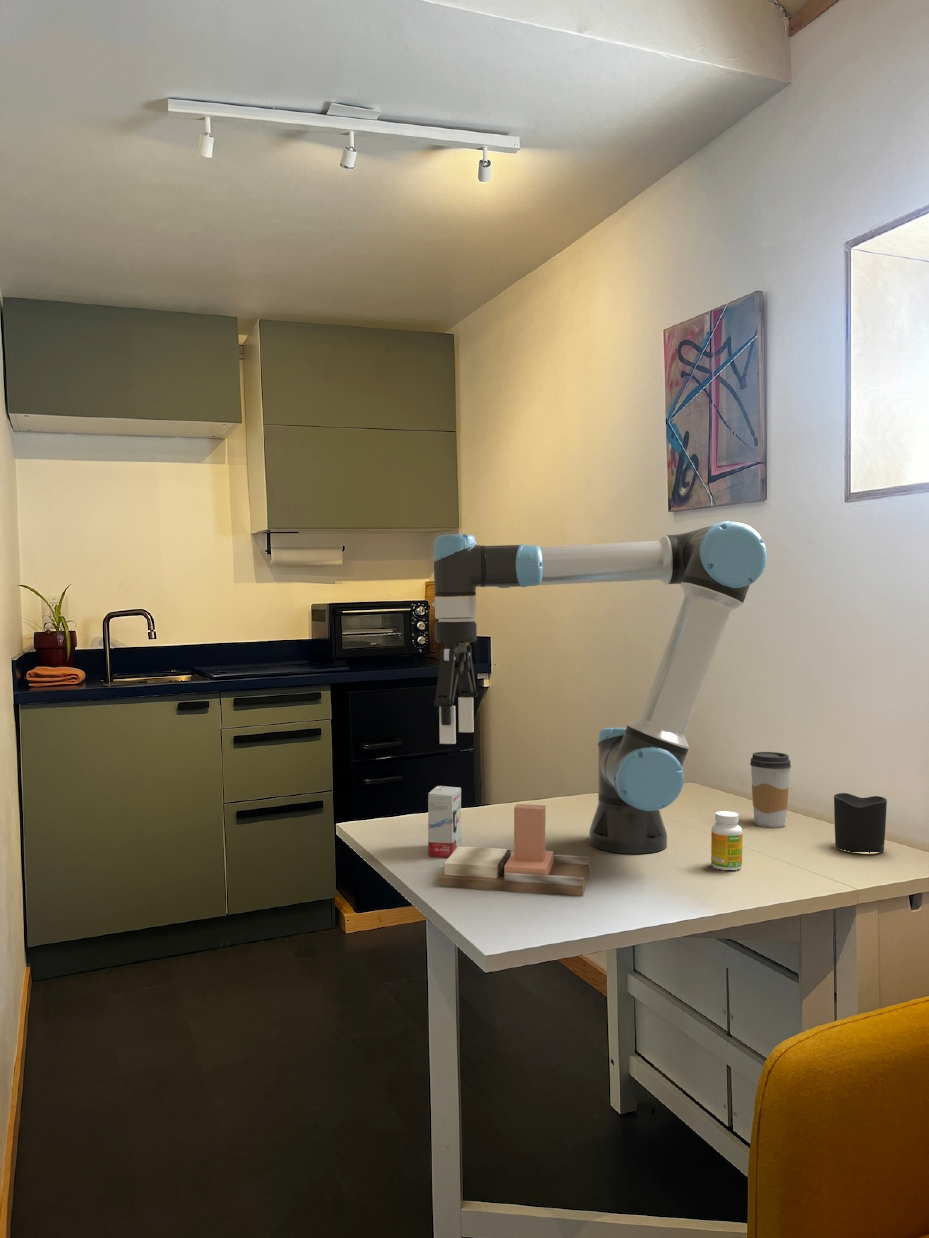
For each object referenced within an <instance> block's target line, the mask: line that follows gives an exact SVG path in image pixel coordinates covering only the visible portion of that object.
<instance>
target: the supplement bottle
mask: <svg viewBox="0 0 929 1238" xmlns="http://www.w3.org/2000/svg"><path fill="white" fill-rule="evenodd" d="M714 819H715V822H716V823H714V824H713V825H712V826H711V830H710V831H711V834H710V835H711V836H710V837H711V842H710V845H711V846H710V847H711V848H710V849H711V851H710V855H711V856H710V858H711V859H710V865H711V866H713V867H712V868H714V869H716V870H719V869H723V870H722V871H725V870H736V869H739V870H741V869H742V868H743V867H742V866H743V829H742V826H740V825H739V824H738V823H739V813H737V812H733V811H726V810H724V811H723V810H721V811H716V812H715V817H714ZM736 871H737V870H736Z"/></svg>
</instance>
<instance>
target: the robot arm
mask: <svg viewBox="0 0 929 1238" xmlns="http://www.w3.org/2000/svg"><path fill="white" fill-rule="evenodd" d="M433 547H434V548H433V549H434V550H433V553H434V554H433V578H434V579H433V580H434V602H432V603H431V607H432V608H434V618H435V619H436V620H438V621H436V622H435V624H434V639H435V642H436V643H440V644H445V648H441V649H440V650H439V666H438V673H437V684H436V692H435V699H434V700H433V706H434V707H438V708H439V709H438V712H439V713H438V715H439V717H438V718H439V719H438V720H439V723H438V724H439V745H441V744H443V745H452V744H453V745H455V744H456V743H457V739H456V738H457V736H456V735H457V734H456V733H457V730H456V723H457V722H456V721H457V720H456V705H454V704H455V703H454V702H455V697H456V692H457V689H458V692H459V696H460V697H458V698H457V699H458V702H457V703H458V733H474V731H475V728H474V727H475V725H474V724H475V723H474V721H475V720H474V697H475V698H477V697H478V695H479V694H478V693H479V691H477V687H476V686H477V685H476V680H475V672H474V665H473V658H472V657H473V656H472V655H473V654H472V648H473V647H472V645H471V644H467V643H474V642H476V641H477V640H478V639H477V638H478V634H477V633H478V632H477V629H478V628H477V623H476V621H474V619H476V618H477V617H478V615H477V613H478V612H477V611H478V610H477V592H476V590H477V588H478V587H479V588H486V587H491V588H492V587H495V588H499V589H509V588H516V587H521V588H527V587H537V586H552V585H553V586H554V585H555V586H557V585H573V584H596V583H611V582H612V583H613V582H635V581H636V582H637V581H638V582H640V581H650V580H651V581H655V580H656V581H657V580H658V581H661V582H662V583H663V584H664V585H680V587H681V589H682V591H683V593H684V597H683V600H682V603H681V606H680V608H679V610H678V612H677V615H676V619H675V620H674V624H673V627H672V629H671V631H670V635H669V638H668V639H667V643H666V645H665V649H664V650H663V653H662V656H661V658H660V662H659V663H658V667H657V670H656V673H655V675H654V678H653V681H652V683H651V686H650V687H649V688H650V689H649V690H648V693H647V696H646V700H645V702H644V704H643V707H642V710H641V712H640V715H639V717H638V718H636V719H635V720H632V721H631V722H629V723H628V724H627V725H626V727H604V728H602V729H601V730H600V731H599V733H598V734H599V735H598V741H597V746H598V796H597V797H598V801H597V806H596V810H595V813H594V816H593V819H592V822H591V824H590V828H589V832H588V842H589V844H590V845H591V846H593V847H594V848H596V849H599V850H603V851H608V852H613V853H621V854H650V853H655V852H659V851H663V850H665V849H666V848H667V847H668V835H667V830H666V827H665V823H664V821H663V817H662V815H661V811H660V810H662V809H664V808H665V809H666V808H667V807H669V806H670V805H672V804H673V803H674V802H675V801H676V800H677V798H678V797H679V795H680V794H681V792H682V789H683V787H684V782H685V781H684V780H685V777H684V770H683V769H684V768H683V765H684V762H685V759H686V758H687V757H686V756H687V754H688V752H689V748H690V745H689V743H688V741H687V738H686V735H685V734H686V732H687V730H688V726H689V724H690V721H691V718H692V716H693V714H694V711H695V708H696V706H697V703H698V701H699V698H700V695H701V692H702V689H703V686H704V684H705V682H706V678H707V677H708V673H709V671H710V668H711V665H712V663H713V660H714V657H715V654H716V652H717V649H718V647H719V643H720V642H721V638H722V636H723V634H724V631H725V628H726V625H727V623H728V620H729V617H730V615H731V612H732V611H733V610H736V609H738V608H740V607H742V606H743V605H744V602H745V599H746V596H747V593H748V592H749V589H750V586H751V585H752V584H753V583H755V582H756V581H757V580H758V579H759V578H760V576H762V574H763V573H764V570H765V568H766V565H767V560H768V555H767V554H768V552H767V547H766V544H765V542H764V540H763V538H762V536H761V535H760V534H759V533H758V531H756V530H755V529H754V528H753V527H751V526H750V525H747V524H745V523H742V522H737V521H726V520H725V521H721V522H718V523H715V524H713V525H710V526H704V527H702V528H699V529H695V530H692V531H689V532H688V531H687V532H684V533H683V532H682V533H679V534H669V535H668V534H664V535H662V536H661V537H660V538H659V540H652V541H651V540H650V541H647V540H645V541H630V542H627V541H626V542H610V543H607V542H606V543H592V544H573V545H572V544H569V545H555V546H554V545H551V546H549V545H548V546H538V545H535V544H533V545H532V544H525V543H524V544H522V543H521V544H509V545H508V544H507V545H506V544H505V545H504V544H503V545H500V544H499V545H481V544H477V542H476V538H475V536H474V535H472V534H469V533H468V534H461V533H460V534H458V533H457V534H456V533H455V534H454V533H453V534H440V535H438V536H437V537H436V539H434V546H433ZM457 687H458V688H457Z"/></svg>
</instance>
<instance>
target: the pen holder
mask: <svg viewBox="0 0 929 1238" xmlns="http://www.w3.org/2000/svg"><path fill="white" fill-rule="evenodd" d="M887 804H888V799H887V798H886V797H883V796H879V795H873V796H868V797H859V796H856V795H854V794H851V793H847V792H841V793H839V792H838V793H836V794H834V795H833V810H834V812H833V813H834V818H833V819H834V842H835V847H836V848H837V847H838V848H839V849H838V848H837V849H838V850H840V849H842V850H846V851H850V852H869V853H870V852H881V851H882V852H883V851H884V850H885V838H886V823H887V808H888V807H887ZM842 850H841V851H842Z"/></svg>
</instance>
